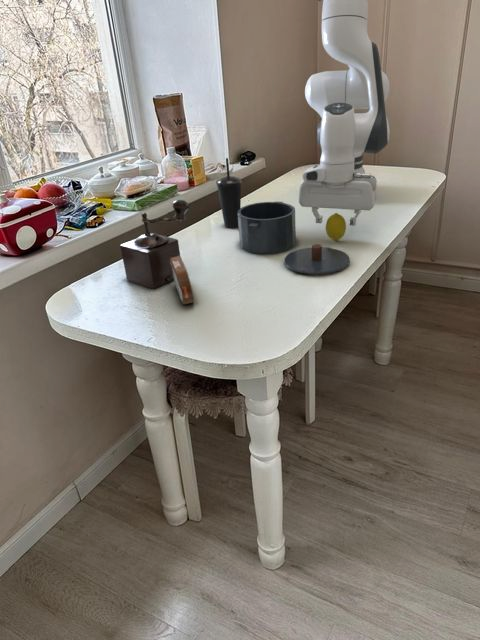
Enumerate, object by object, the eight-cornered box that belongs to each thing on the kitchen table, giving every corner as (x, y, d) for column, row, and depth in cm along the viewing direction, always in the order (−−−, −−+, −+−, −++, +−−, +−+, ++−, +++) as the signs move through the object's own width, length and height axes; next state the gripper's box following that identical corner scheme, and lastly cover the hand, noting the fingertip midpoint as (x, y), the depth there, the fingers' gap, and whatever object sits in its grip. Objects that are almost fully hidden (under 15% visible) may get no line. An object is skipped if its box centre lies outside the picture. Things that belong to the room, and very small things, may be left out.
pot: (227, 255, 145) (224, 221, 140) (255, 229, 162) (253, 197, 157) (282, 260, 140) (281, 225, 135) (305, 232, 157) (304, 200, 152)
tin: (196, 308, 119) (191, 274, 115) (182, 311, 119) (176, 276, 114) (185, 282, 132) (180, 249, 127) (172, 284, 131) (167, 251, 126)
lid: (275, 272, 134) (275, 255, 131) (295, 248, 147) (295, 232, 144) (341, 279, 128) (341, 261, 126) (355, 253, 141) (356, 237, 139)
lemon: (344, 245, 147) (345, 216, 143) (324, 244, 148) (324, 216, 144) (346, 237, 152) (347, 210, 147) (326, 237, 153) (326, 209, 148)
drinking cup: (230, 220, 170) (224, 154, 159) (249, 223, 166) (245, 156, 155) (215, 227, 165) (208, 160, 154) (234, 231, 161) (229, 162, 150)
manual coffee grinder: (155, 290, 128) (142, 217, 119) (125, 280, 134) (111, 209, 125) (200, 268, 139) (191, 198, 129) (170, 259, 145) (160, 192, 135)
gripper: (379, 170, 139) (375, 222, 146) (303, 168, 145) (303, 218, 152) (374, 176, 134) (371, 230, 141) (296, 173, 140) (297, 225, 148)
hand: (335, 223), depth 147 cm, fingers open, 8 cm apart
